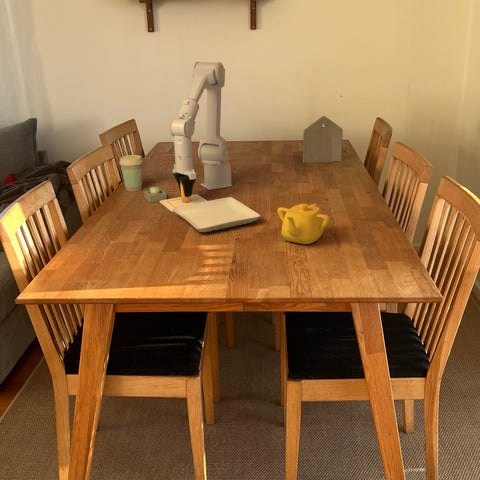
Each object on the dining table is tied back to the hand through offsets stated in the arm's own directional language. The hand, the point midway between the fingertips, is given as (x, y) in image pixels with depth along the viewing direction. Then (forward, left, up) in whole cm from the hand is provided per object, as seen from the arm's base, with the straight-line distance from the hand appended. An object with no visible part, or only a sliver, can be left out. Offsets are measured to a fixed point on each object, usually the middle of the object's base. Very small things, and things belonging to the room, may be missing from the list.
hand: (186, 195), depth 194 cm
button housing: (+7, -10, -3) cm, 13 cm away
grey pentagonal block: (-72, -24, -3) cm, 76 cm away
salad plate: (-2, +20, -3) cm, 20 cm away
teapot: (-16, +47, -3) cm, 50 cm away
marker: (0, 0, -2) cm, 2 cm away
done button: (+7, -10, -3) cm, 13 cm away
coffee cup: (+10, -25, -3) cm, 27 cm away
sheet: (0, 0, -3) cm, 3 cm away
